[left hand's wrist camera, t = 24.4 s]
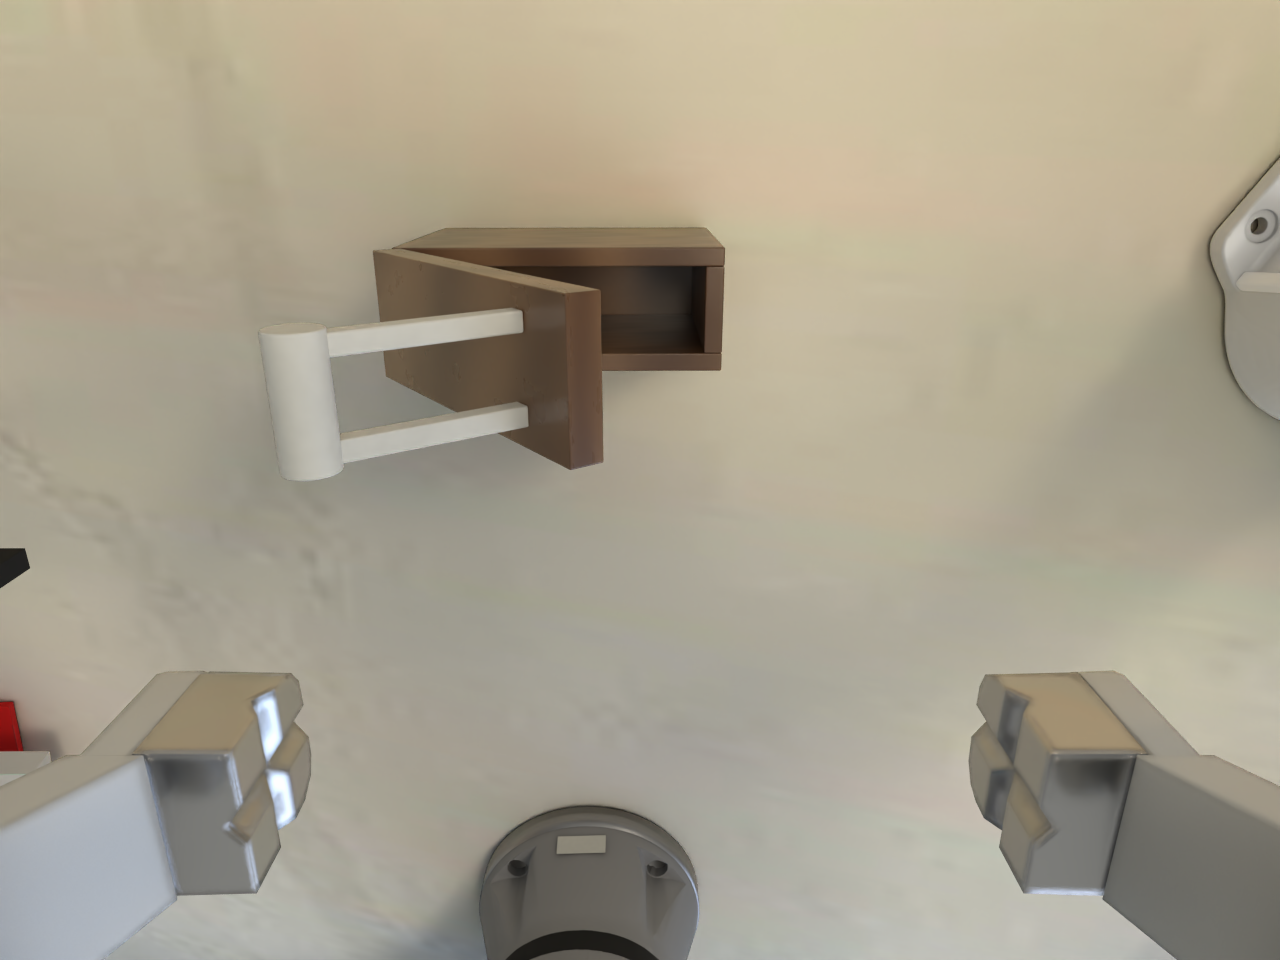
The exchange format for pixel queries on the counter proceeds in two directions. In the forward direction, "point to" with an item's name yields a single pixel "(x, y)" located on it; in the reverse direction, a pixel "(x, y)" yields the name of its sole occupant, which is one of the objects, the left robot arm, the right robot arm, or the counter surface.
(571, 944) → the right robot arm
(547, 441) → the door
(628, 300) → the chest
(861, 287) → the counter surface
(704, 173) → the counter surface
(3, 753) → the toy
